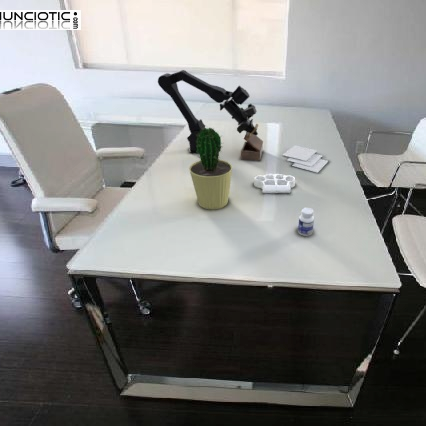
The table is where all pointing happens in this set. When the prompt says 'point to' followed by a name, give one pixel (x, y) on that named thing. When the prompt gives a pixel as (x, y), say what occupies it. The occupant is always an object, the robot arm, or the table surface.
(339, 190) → the table surface
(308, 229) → the pill bottle
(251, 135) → the lid
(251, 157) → the box
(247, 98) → the robot arm
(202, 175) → the potted cactus
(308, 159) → the paper stack
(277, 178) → the white brass knuckles
